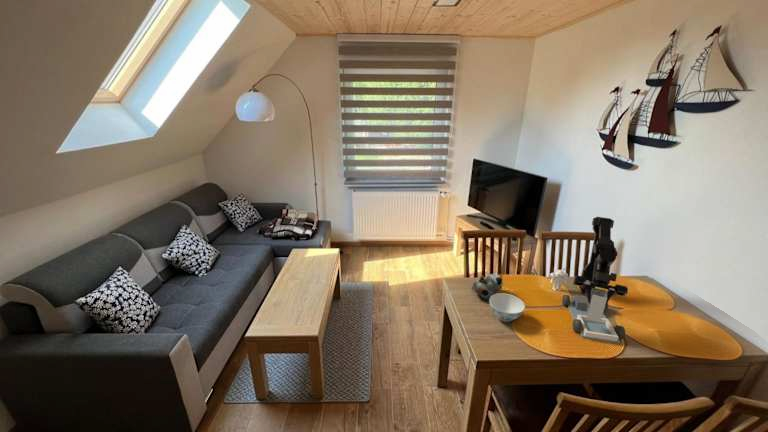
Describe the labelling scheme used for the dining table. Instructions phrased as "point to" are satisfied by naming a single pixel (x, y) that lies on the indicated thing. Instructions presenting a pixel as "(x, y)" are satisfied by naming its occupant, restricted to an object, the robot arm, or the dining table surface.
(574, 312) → the chassis
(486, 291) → the grey lumpy piece
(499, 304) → the chinaware
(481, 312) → the dining table surface
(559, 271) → the hat wearing toy figure
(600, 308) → the grey plastic box
